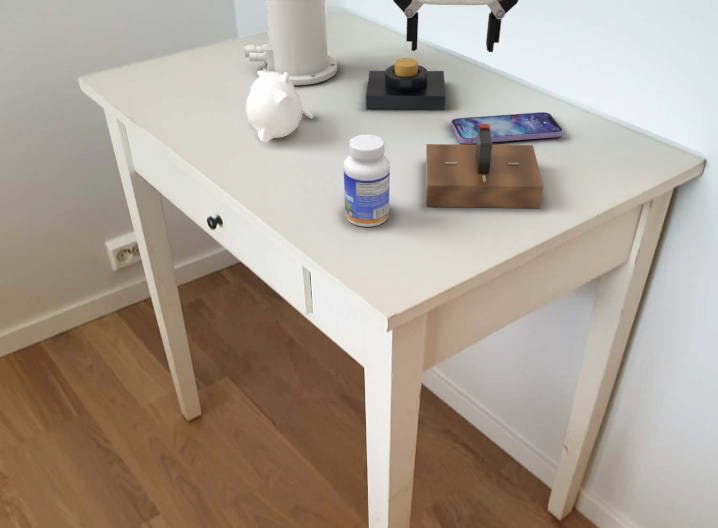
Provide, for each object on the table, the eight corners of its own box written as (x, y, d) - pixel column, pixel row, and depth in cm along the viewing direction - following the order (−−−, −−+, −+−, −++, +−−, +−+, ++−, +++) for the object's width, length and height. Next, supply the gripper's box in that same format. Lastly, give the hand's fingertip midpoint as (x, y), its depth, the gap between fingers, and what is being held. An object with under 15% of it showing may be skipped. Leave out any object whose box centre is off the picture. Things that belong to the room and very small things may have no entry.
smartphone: (449, 118, 107) (548, 111, 108) (449, 124, 107) (547, 117, 109) (461, 139, 101) (565, 131, 103) (460, 146, 102) (564, 138, 103)
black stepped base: (366, 109, 112) (365, 83, 109) (369, 84, 119) (369, 59, 116) (444, 110, 111) (446, 84, 108) (443, 84, 118) (444, 59, 116)
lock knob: (489, 173, 90) (492, 141, 87) (477, 173, 90) (480, 141, 87) (486, 154, 94) (489, 123, 91) (475, 154, 94) (478, 123, 91)
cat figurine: (260, 49, 105) (263, 78, 96) (324, 84, 110) (333, 115, 101) (235, 102, 109) (235, 134, 100) (297, 133, 114) (303, 167, 105)
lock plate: (426, 206, 90) (427, 184, 88) (425, 164, 98) (426, 142, 96) (540, 208, 90) (543, 185, 87) (530, 165, 98) (533, 143, 96)
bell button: (394, 78, 111) (394, 66, 110) (394, 69, 114) (395, 57, 113) (417, 78, 111) (418, 66, 110) (417, 69, 114) (418, 58, 113)
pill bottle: (344, 206, 91) (340, 132, 84) (387, 203, 91) (387, 129, 84) (346, 229, 87) (343, 154, 80) (391, 227, 87) (392, 151, 80)
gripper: (384, -102, 79) (383, 57, 91) (543, -101, 79) (522, 60, 90) (387, -116, 85) (385, 36, 97) (536, -115, 84) (517, 38, 96)
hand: (451, 47), depth 93 cm, fingers open, 9 cm apart
